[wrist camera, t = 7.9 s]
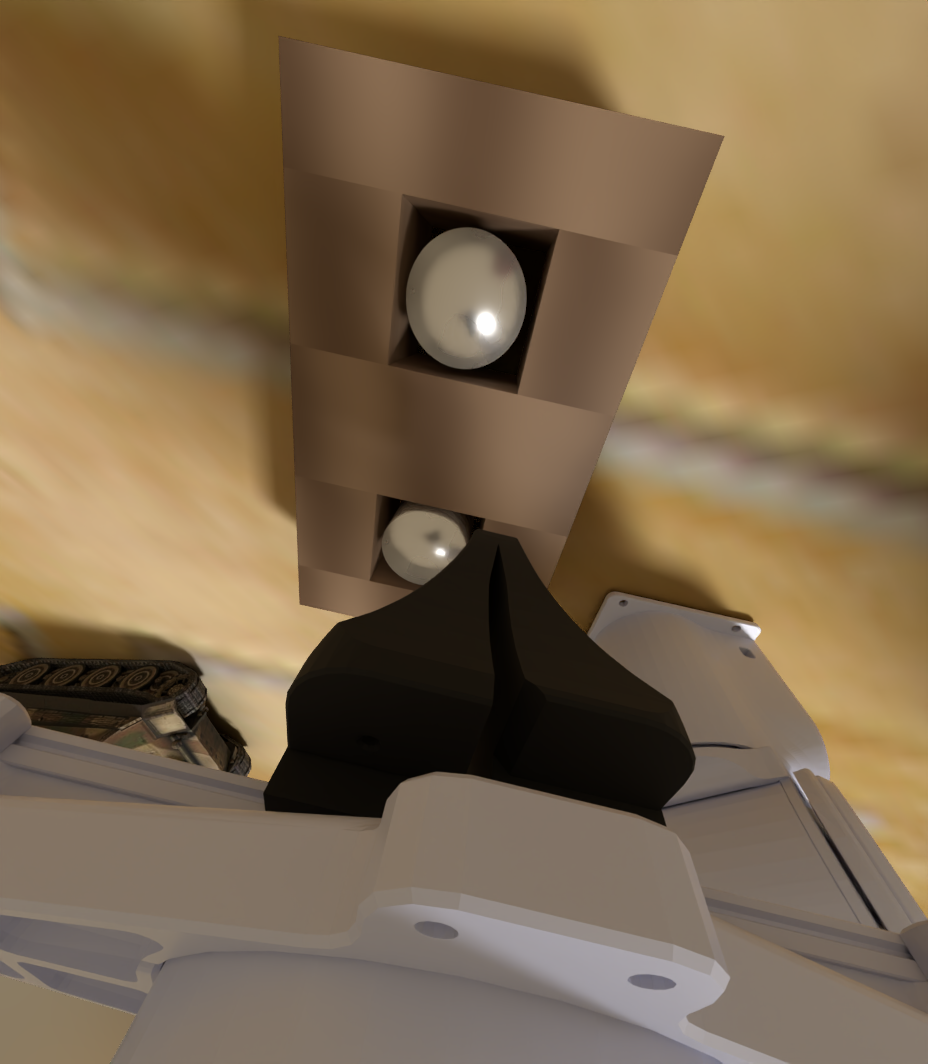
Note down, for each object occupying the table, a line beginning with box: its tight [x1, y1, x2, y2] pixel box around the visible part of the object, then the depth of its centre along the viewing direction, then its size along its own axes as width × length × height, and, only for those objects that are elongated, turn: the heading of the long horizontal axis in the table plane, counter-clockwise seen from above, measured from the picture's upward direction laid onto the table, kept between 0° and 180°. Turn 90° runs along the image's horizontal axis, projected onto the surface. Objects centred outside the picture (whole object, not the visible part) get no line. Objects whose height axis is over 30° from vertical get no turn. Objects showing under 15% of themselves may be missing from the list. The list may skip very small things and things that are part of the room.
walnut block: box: [279, 36, 724, 617], centre depth 17 cm, size 12×20×5 cm, turn 169°
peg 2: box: [382, 500, 475, 585], centre depth 20 cm, size 4×4×5 cm
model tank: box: [0, 658, 251, 777], centre depth 30 cm, size 13×22×15 cm, turn 96°
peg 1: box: [406, 227, 527, 369], centre depth 15 cm, size 4×4×5 cm
